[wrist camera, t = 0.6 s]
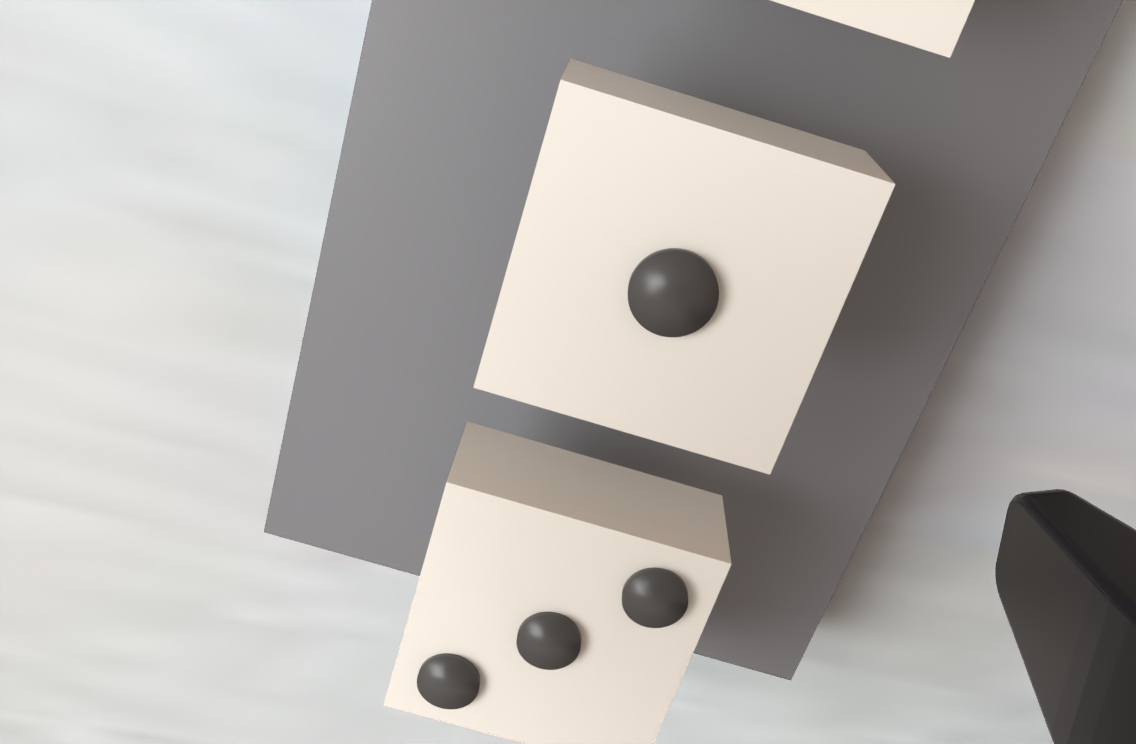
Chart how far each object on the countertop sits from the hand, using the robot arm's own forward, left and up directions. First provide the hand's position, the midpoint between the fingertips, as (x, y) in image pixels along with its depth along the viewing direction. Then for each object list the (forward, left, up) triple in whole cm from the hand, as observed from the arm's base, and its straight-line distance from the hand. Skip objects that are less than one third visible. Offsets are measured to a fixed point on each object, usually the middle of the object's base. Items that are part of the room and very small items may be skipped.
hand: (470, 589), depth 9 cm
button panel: (-2, -1, -12) cm, 12 cm away
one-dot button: (-2, -1, -8) cm, 8 cm away
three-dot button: (-2, +5, -8) cm, 10 cm away
